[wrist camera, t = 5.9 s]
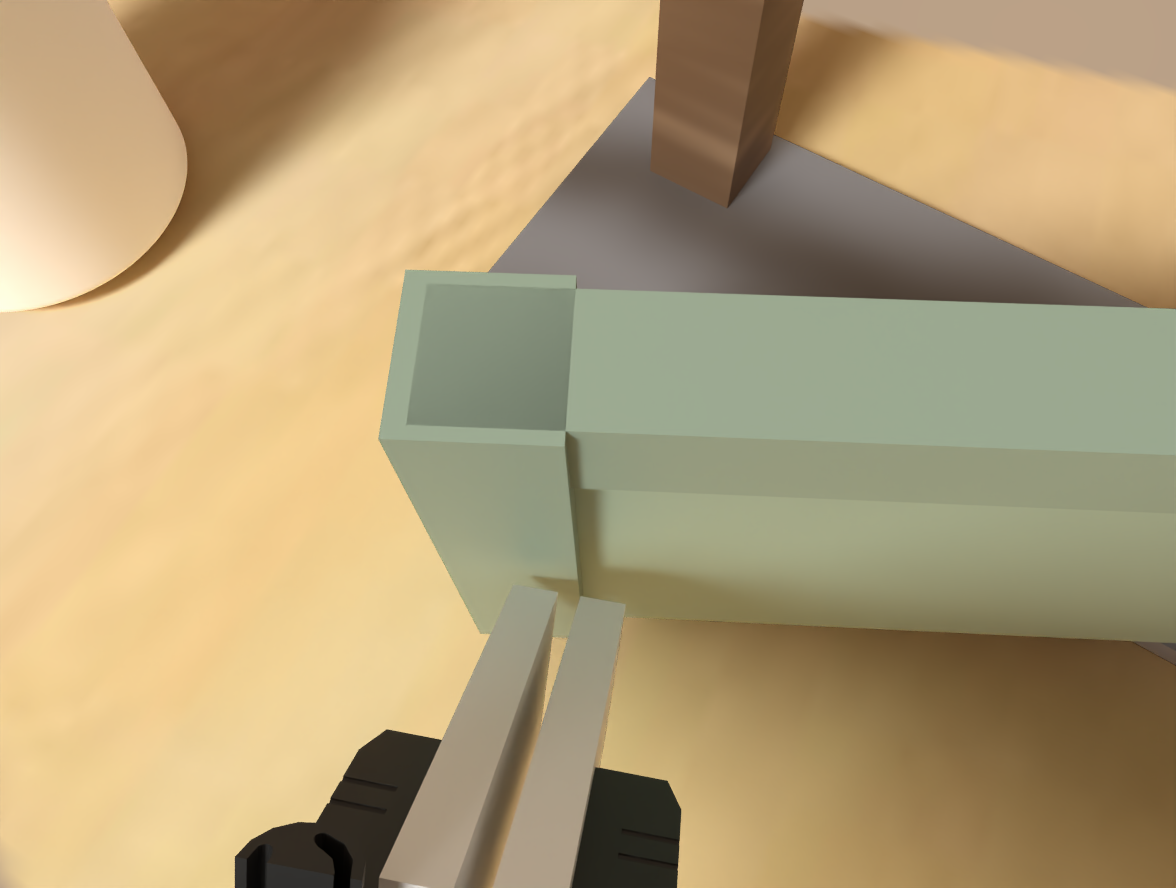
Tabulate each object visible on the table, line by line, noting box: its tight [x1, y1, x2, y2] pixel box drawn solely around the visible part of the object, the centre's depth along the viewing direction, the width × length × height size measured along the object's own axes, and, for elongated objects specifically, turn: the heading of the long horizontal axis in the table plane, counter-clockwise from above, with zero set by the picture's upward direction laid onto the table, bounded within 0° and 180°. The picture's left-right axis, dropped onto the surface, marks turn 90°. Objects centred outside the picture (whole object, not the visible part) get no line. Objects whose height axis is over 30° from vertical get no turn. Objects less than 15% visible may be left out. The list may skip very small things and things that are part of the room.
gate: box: [378, 270, 1176, 643], centre depth 16 cm, size 2×22×10 cm, turn 87°
